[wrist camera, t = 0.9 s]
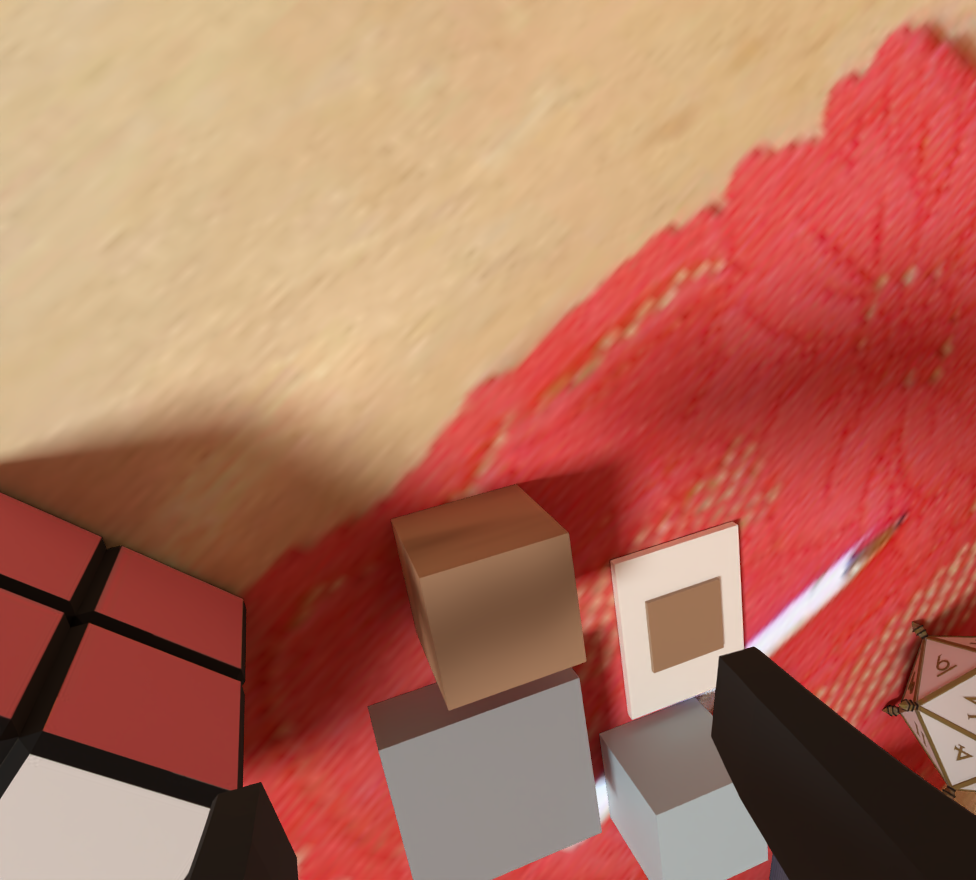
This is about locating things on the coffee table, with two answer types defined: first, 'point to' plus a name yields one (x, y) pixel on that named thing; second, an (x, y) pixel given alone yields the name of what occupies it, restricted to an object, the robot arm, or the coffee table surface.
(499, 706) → the slate base
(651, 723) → the gray block
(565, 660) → the walnut block
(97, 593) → the puzzle cube
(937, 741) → the game die
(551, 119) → the coffee table surface
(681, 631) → the card
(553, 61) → the coffee table surface
